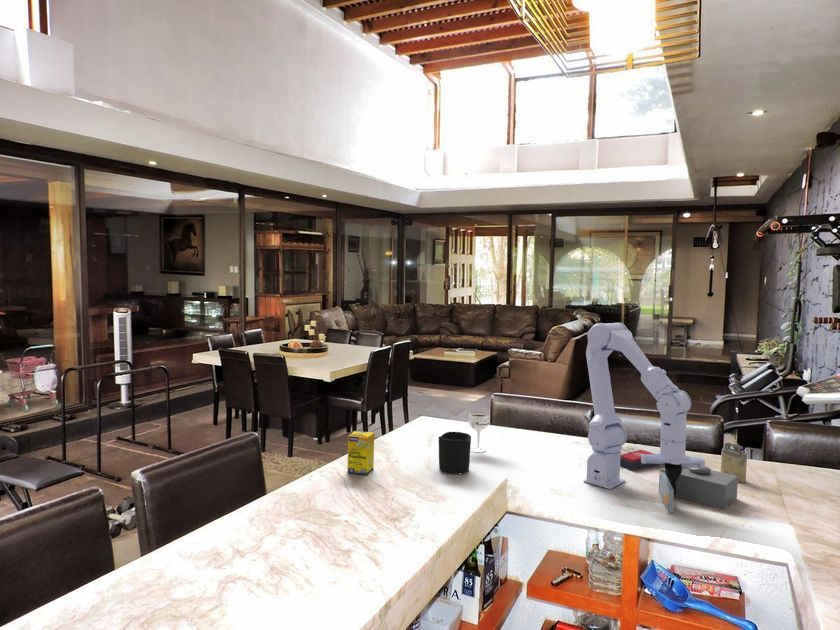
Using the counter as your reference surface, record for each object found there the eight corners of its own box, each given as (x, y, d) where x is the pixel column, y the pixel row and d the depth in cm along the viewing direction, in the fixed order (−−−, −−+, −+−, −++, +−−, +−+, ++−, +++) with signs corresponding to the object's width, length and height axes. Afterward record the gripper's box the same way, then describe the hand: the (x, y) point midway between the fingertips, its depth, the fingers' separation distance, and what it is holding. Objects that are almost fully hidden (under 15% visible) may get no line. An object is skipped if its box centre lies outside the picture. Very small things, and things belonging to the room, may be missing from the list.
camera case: (724, 509, 139) (726, 481, 139) (658, 491, 150) (660, 465, 150) (736, 498, 146) (738, 472, 146) (673, 482, 157) (674, 457, 157)
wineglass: (464, 448, 186) (465, 412, 186) (483, 447, 188) (484, 411, 188) (472, 454, 180) (473, 417, 179) (492, 453, 182) (493, 416, 181)
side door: (664, 511, 136) (665, 489, 136) (655, 491, 150) (656, 470, 149) (673, 512, 136) (674, 490, 135) (663, 492, 149) (664, 471, 149)
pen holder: (475, 473, 162) (476, 438, 162) (445, 476, 159) (446, 441, 158) (461, 463, 171) (462, 430, 170) (432, 466, 167) (433, 433, 167)
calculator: (604, 450, 176) (638, 442, 183) (604, 463, 177) (638, 455, 184) (632, 460, 167) (667, 451, 174) (632, 474, 167) (667, 464, 174)
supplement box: (347, 473, 160) (347, 435, 159) (354, 467, 165) (355, 430, 165) (367, 475, 158) (367, 437, 158) (373, 469, 164) (374, 431, 163)
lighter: (748, 482, 159) (750, 447, 159) (740, 484, 157) (742, 448, 157) (724, 474, 166) (726, 440, 165) (716, 476, 164) (718, 442, 163)
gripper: (644, 441, 139) (643, 496, 139) (709, 446, 136) (707, 501, 136) (640, 434, 146) (638, 486, 146) (701, 438, 142) (699, 491, 143)
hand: (671, 493), depth 142 cm, fingers closed, pressing on side door
